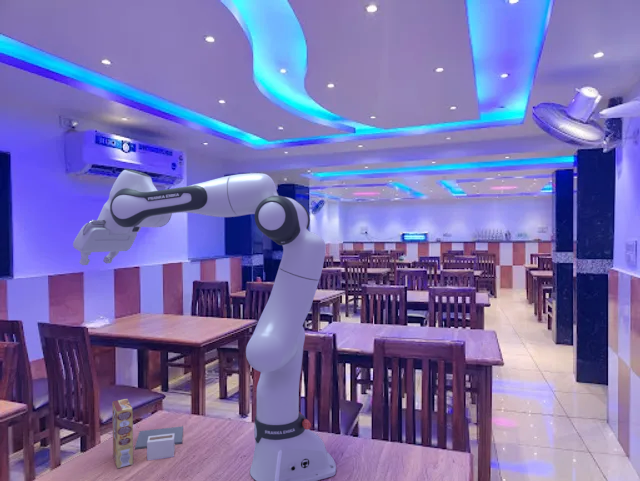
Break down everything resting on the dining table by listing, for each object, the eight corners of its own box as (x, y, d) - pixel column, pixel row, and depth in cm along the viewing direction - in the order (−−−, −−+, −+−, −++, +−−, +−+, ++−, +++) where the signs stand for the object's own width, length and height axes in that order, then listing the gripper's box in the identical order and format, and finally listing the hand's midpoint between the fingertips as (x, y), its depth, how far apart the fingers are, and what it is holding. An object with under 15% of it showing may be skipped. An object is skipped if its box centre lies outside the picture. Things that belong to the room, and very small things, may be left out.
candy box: (133, 464, 115) (133, 407, 115) (116, 469, 113) (116, 411, 113) (127, 451, 122) (128, 397, 122) (111, 455, 120) (111, 400, 120)
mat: (183, 428, 138) (183, 426, 138) (182, 443, 127) (182, 441, 127) (139, 433, 134) (139, 431, 134) (134, 449, 124) (134, 447, 124)
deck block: (174, 450, 123) (174, 432, 123) (173, 457, 119) (173, 438, 119) (148, 453, 121) (148, 435, 121) (146, 460, 117) (147, 442, 117)
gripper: (97, 225, 112) (76, 271, 114) (144, 227, 132) (126, 266, 134) (79, 214, 114) (58, 259, 115) (129, 218, 134) (110, 256, 135)
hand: (95, 263), depth 125 cm, fingers open, 8 cm apart
